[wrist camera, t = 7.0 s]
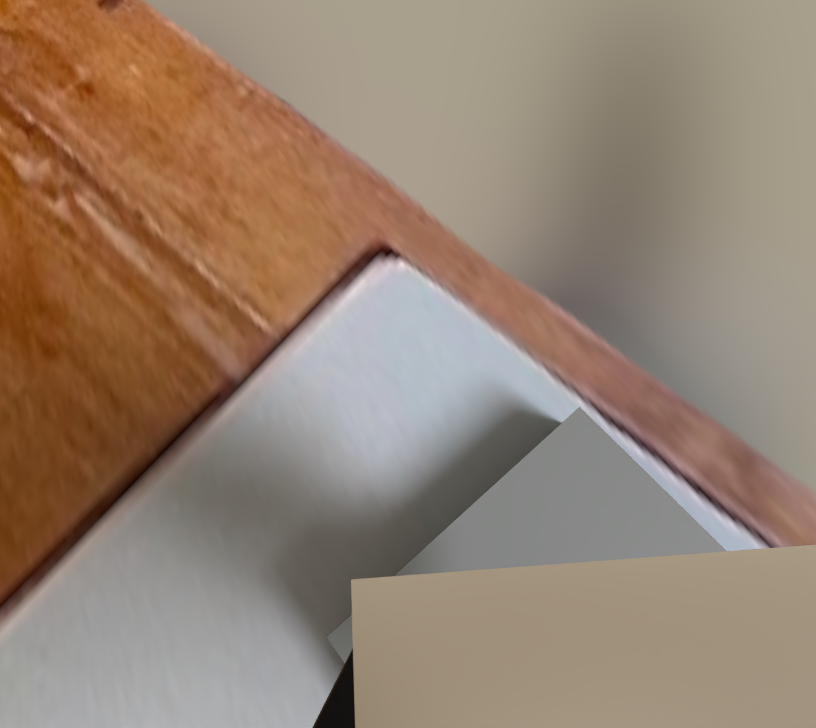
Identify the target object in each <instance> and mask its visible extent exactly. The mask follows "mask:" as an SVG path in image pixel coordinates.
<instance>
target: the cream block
mask: <svg viewBox="0 0 816 728" xmlns="http://www.w3.org/2000/svg"><path fill="white" fill-rule="evenodd" d="M351 600H352V634H353V669H354V703H355V728H816V545H807V546H793V547H780V548H766V549H753V550H739V551H726V552H713V553H699V554H686V555H672V556H659V557H645V558H632V559H619V560H605V561H592V562H578V563H565V564H551V565H538V566H525V567H511V568H498V569H484V570H471V571H457V572H444V573H431V574H417V575H404V576H390V577H377V578H363V579H351Z"/></svg>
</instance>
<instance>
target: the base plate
mask: <svg viewBox="0 0 816 728" xmlns="http://www.w3.org/2000/svg"><path fill="white" fill-rule="evenodd" d="M713 552H726V550H725V549H724V548H723V547H722V546H721V545H720V544H719V543H718V542H717V541H716V540H715V539H714V538H713V537H712V536H711V535H710V534H709V533H708V532H707V531H706V530H705V529H704V528H703V527H702V526H700V525H699V524H698V523H697V522H696V521H695V520H694V519H693V518H692V517H691V516H690V515H689V514H688V513H687V512H686V511H685V510H684V509H683V508H682V507H681V506H680V505H679V504H678V503H677V502H676V501H675V500H674V499H673V498H672V497H671V496H670V495H669V494H668V493H667V492H666V491H665V490H664V489H663V488H662V487H661V486H660V485H659V484H658V483H657V482H656V481H655V480H654V479H653V478H652V477H651V476H649V475H648V474H647V473H646V472H645V471H644V470H643V469H642V468H641V467H640V466H639V465H638V464H637V463H636V462H635V461H634V460H633V459H632V458H631V457H630V456H629V455H628V454H627V453H626V452H625V451H624V450H623V449H622V448H621V447H620V446H619V445H618V444H617V443H616V442H615V441H614V440H613V439H612V438H611V437H610V436H609V435H608V434H607V433H606V432H605V431H604V430H603V429H602V428H601V427H600V426H599V425H597V424H596V423H595V422H594V421H593V420H592V419H591V418H590V417H589V416H588V415H587V414H586V413H585V412H584V411H583V410H582V409H581V408H580V407H579V408H578V409H577V410H576V411H574V412H573V413H572V414H571V415H570V416H569V417H568V418H567V419H566V420H565V421H564V422H562V423H561V424H560V425H559V426H558V427H557V428H556V429H555V430H554V431H553V432H551V433H550V434H549V435H548V436H547V437H546V438H545V439H544V440H543V441H542V442H540V443H539V444H538V445H537V446H536V447H535V448H534V449H533V450H532V451H531V452H529V453H528V454H527V455H526V456H525V457H524V458H523V459H522V460H521V461H520V462H518V463H517V464H516V465H515V466H514V467H513V468H512V469H511V470H510V471H509V472H507V473H506V474H505V475H504V476H503V477H502V478H501V479H500V480H499V481H498V482H496V483H495V484H494V485H493V486H492V487H491V488H490V489H489V490H488V491H487V492H485V493H484V494H483V495H482V496H481V497H480V498H479V499H478V500H477V501H476V502H474V503H473V504H472V505H471V506H470V507H469V508H468V509H467V510H466V511H465V512H463V513H462V514H461V515H460V516H459V517H458V518H457V519H456V520H455V521H454V522H452V523H451V524H450V525H449V526H448V527H447V528H446V529H445V530H444V531H443V532H442V533H440V534H439V535H438V536H437V537H436V538H435V539H434V540H433V541H432V542H431V543H429V544H428V545H427V546H426V547H425V548H424V549H423V550H422V551H421V552H420V553H418V554H417V555H416V556H415V557H414V558H413V559H412V560H411V561H410V562H409V563H407V564H406V565H405V566H404V567H403V568H402V569H401V570H400V571H399V572H398V573H396V574H395V575H394V576H404V575H417V574H431V573H444V572H457V571H471V570H484V569H498V568H511V567H525V566H538V565H551V564H565V563H578V562H592V561H605V560H619V559H632V558H645V557H659V556H672V555H686V554H699V553H713ZM326 638H327V639H328V641H329V642H330V644H331V645H332V647H333V648H334V649H335V651H336V652H337V654H338V655H339V656H340V658H341V659H342V661H343V662H344V663H345V662H346V660H347V658H348V656H349V654H350V652H351V650H352V648H353V634H352V614H351V615H350V616H349V617H348V618H347V619H346V620H345V621H344V622H343V623H341V624H340V625H339V626H338V627H337V628H336V629H335V630H334V631H333V632H332V633H330V634H329V635H328V636H327V637H326Z"/></svg>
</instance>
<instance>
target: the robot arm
mask: <svg viewBox="0 0 816 728" xmlns="http://www.w3.org/2000/svg"><path fill="white" fill-rule="evenodd" d="M313 728H355V703H354V669H353V648H352V650H351V652H350V654H349V656H348V658H347V660H346V662H345V664H344V666H343V668H342V670H341V672H340V674H339V676H338V678H337V680H336V682H335V684H334V686H333V688H332V690H331V692H330V694H329V696H328V698H327V700H326V702H325V704H324V706H323V708H322V710H321V712H320V714H319V716H318V718H317V720H316V722H315V724H314V726H313Z"/></svg>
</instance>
